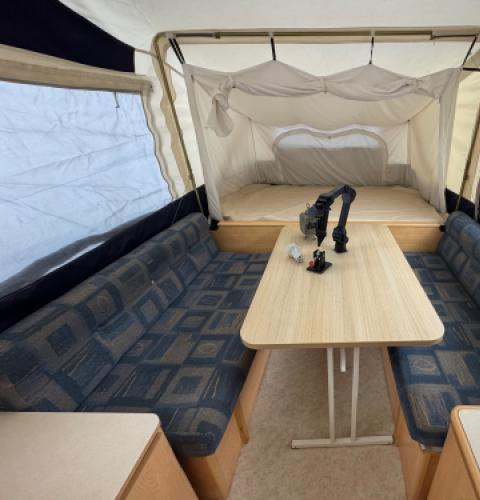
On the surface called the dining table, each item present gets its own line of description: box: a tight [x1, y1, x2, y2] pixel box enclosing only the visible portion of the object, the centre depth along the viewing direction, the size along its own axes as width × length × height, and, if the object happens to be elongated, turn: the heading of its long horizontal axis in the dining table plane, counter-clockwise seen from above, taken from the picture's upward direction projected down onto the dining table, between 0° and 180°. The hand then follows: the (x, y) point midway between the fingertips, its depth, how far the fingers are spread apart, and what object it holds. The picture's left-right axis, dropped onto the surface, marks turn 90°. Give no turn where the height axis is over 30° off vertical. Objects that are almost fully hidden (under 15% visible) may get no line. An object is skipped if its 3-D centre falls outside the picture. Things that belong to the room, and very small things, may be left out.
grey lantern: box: [298, 202, 317, 241], centre depth 181 cm, size 14×9×25 cm, turn 22°
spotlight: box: [285, 242, 305, 263], centre depth 155 cm, size 8×11×8 cm
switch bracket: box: [306, 248, 333, 275], centre depth 145 cm, size 12×9×10 cm
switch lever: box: [308, 250, 322, 267], centre depth 142 cm, size 11×3×3 cm, turn 151°
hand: (318, 246), depth 145 cm, fingers closed
